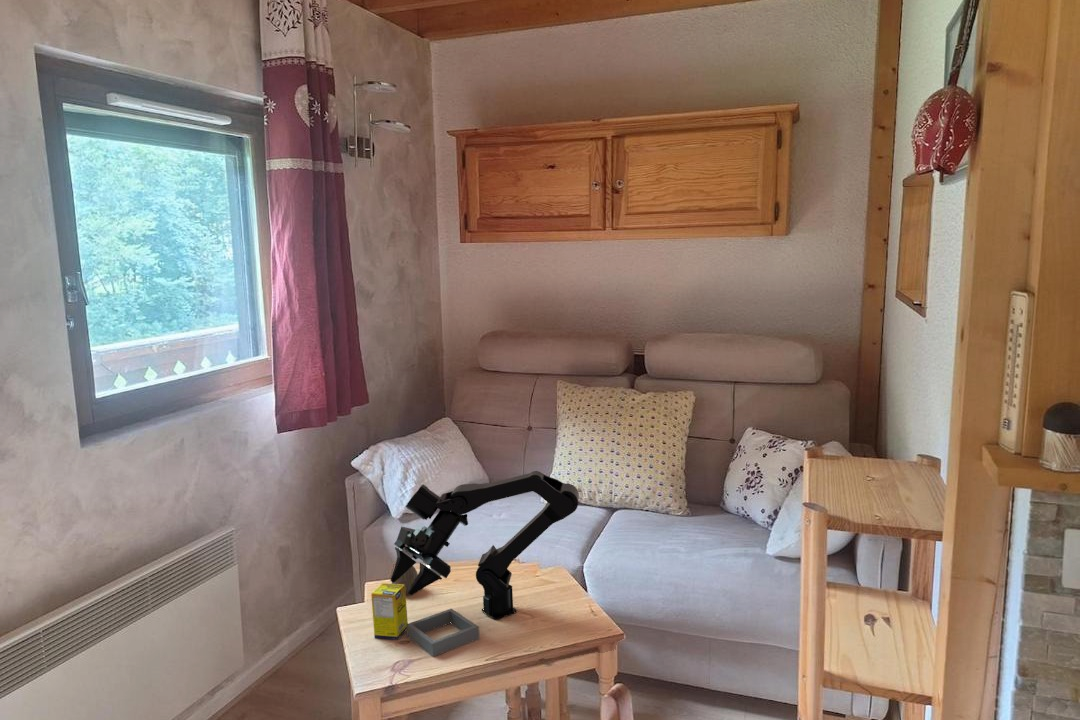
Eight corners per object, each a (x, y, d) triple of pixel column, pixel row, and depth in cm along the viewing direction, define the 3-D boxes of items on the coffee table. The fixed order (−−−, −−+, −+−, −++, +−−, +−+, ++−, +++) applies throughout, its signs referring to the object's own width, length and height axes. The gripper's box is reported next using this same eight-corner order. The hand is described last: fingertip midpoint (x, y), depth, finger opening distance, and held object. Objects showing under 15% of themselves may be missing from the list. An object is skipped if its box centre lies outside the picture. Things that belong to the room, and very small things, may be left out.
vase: (413, 598, 191) (411, 565, 190) (388, 597, 193) (385, 564, 192) (422, 587, 198) (420, 555, 197) (398, 585, 199) (396, 554, 198)
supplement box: (408, 628, 176) (405, 583, 174) (397, 640, 170) (395, 594, 168) (385, 626, 177) (382, 582, 176) (373, 638, 171) (370, 593, 170)
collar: (452, 620, 179) (451, 608, 178) (479, 638, 169) (478, 626, 169) (407, 636, 171) (406, 624, 171) (432, 656, 162) (432, 643, 162)
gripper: (399, 504, 183) (359, 559, 178) (436, 523, 168) (394, 584, 163) (429, 527, 188) (391, 581, 183) (468, 548, 174) (428, 607, 168)
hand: (400, 587), depth 174 cm, fingers open, 9 cm apart
